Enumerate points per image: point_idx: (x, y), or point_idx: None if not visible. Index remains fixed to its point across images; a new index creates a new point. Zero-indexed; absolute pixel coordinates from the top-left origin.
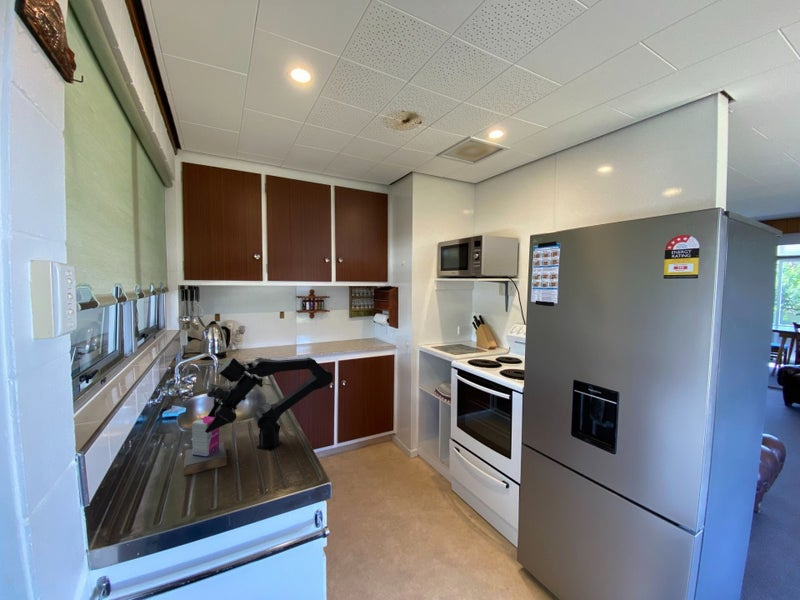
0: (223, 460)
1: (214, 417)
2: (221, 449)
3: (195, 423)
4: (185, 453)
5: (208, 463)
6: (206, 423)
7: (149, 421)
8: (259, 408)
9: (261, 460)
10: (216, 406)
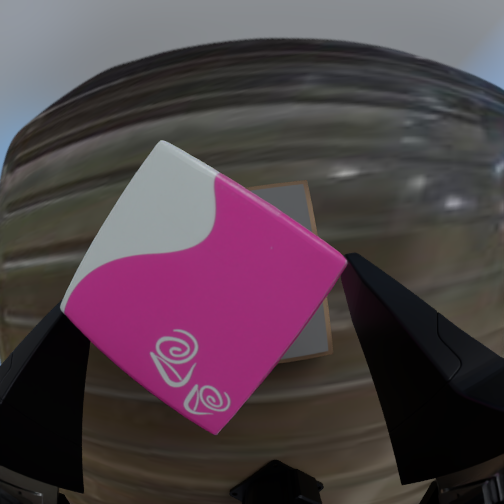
0: None
1: (1, 397)
2: None
3: (135, 176)
4: (277, 185)
5: None
6: (75, 303)
7: None
8: None
9: (169, 461)
10: (451, 422)
